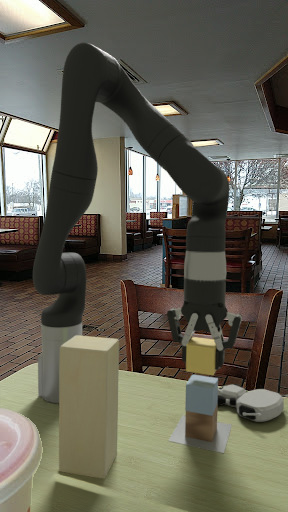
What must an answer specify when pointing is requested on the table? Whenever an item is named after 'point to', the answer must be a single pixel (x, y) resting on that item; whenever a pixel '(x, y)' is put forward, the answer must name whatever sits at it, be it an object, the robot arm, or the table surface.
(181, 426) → the base plate
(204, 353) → the yellow cube
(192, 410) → the brick blue
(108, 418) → the cream tall block
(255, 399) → the robot toy
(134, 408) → the table surface
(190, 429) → the brick walnut
